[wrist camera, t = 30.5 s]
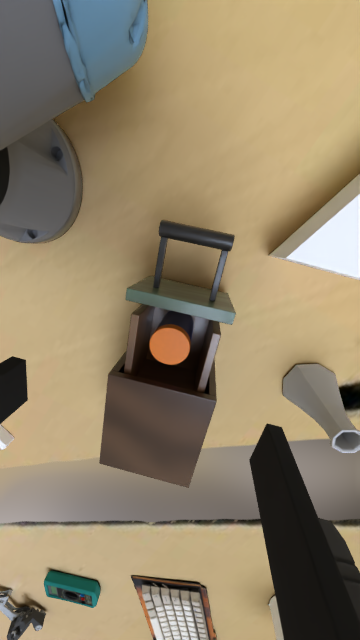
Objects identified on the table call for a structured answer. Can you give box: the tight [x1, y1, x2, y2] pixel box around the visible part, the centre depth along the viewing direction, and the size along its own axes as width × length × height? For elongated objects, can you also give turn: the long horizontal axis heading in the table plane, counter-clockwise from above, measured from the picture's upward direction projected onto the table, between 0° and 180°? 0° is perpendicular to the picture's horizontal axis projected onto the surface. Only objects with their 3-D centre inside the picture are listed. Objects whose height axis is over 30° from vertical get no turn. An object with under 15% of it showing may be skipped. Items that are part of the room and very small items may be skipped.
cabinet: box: [100, 351, 217, 488], centre depth 30 cm, size 14×12×11 cm
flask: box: [283, 364, 360, 453], centre depth 27 cm, size 7×7×10 cm
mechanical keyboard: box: [131, 576, 217, 640], centre depth 58 cm, size 38×19×3 cm, turn 9°
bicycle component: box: [0, 589, 46, 640], centre depth 65 cm, size 12×7×15 cm
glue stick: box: [149, 311, 194, 365], centre depth 26 cm, size 4×4×7 cm
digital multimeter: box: [44, 570, 100, 608], centre depth 58 cm, size 7×15×3 cm, turn 85°
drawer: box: [124, 220, 236, 393], centre depth 25 cm, size 19×10×9 cm, turn 168°
